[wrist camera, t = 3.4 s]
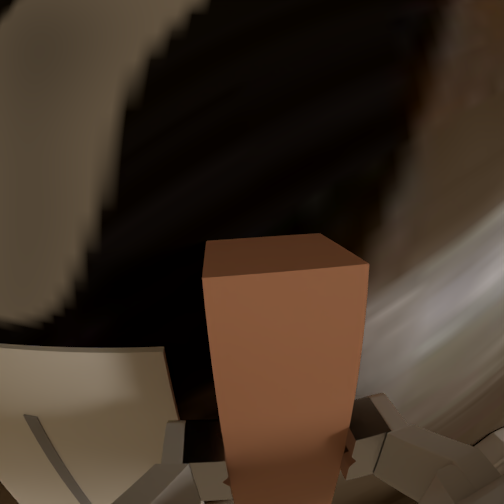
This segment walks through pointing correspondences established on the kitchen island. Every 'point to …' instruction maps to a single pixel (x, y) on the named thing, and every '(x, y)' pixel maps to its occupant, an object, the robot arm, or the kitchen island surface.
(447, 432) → the kitchen island surface
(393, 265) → the kitchen island surface
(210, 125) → the kitchen island surface
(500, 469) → the white cup
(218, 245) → the block
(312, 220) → the kitchen island surface
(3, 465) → the paper
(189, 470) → the robot arm
